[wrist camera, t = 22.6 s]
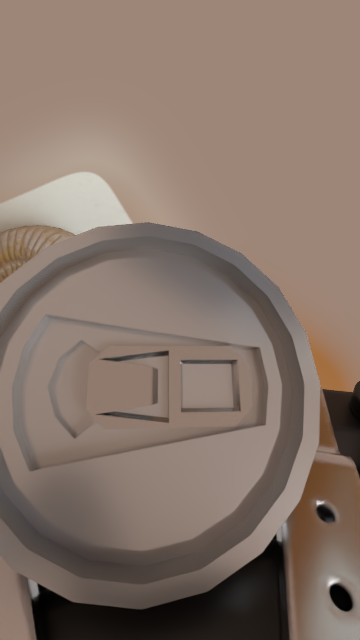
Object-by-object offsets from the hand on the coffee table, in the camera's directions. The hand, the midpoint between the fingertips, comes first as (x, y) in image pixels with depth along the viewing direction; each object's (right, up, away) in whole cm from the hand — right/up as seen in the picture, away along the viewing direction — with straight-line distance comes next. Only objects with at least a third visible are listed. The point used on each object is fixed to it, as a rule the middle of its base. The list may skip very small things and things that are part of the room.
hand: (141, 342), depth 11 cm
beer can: (0, -3, +5) cm, 6 cm away
